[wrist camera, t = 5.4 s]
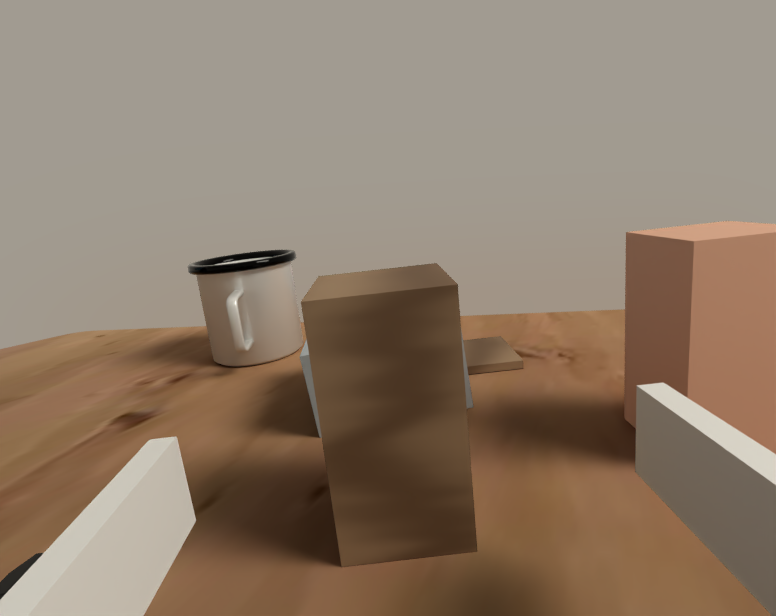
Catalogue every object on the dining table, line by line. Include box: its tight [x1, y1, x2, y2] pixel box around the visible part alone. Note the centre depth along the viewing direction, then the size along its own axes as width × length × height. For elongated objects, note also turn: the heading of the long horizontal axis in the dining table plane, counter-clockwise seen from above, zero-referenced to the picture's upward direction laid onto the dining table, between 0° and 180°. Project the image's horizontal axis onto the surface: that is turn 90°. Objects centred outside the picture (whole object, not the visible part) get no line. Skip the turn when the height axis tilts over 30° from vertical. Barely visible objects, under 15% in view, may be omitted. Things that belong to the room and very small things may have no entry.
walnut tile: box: [463, 336, 523, 374], centre depth 36 cm, size 6×6×1 cm
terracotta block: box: [624, 221, 776, 454], centre depth 22 cm, size 5×5×10 cm
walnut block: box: [301, 263, 477, 567], centre depth 18 cm, size 5×5×10 cm
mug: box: [188, 250, 303, 367], centre depth 42 cm, size 12×10×9 cm
